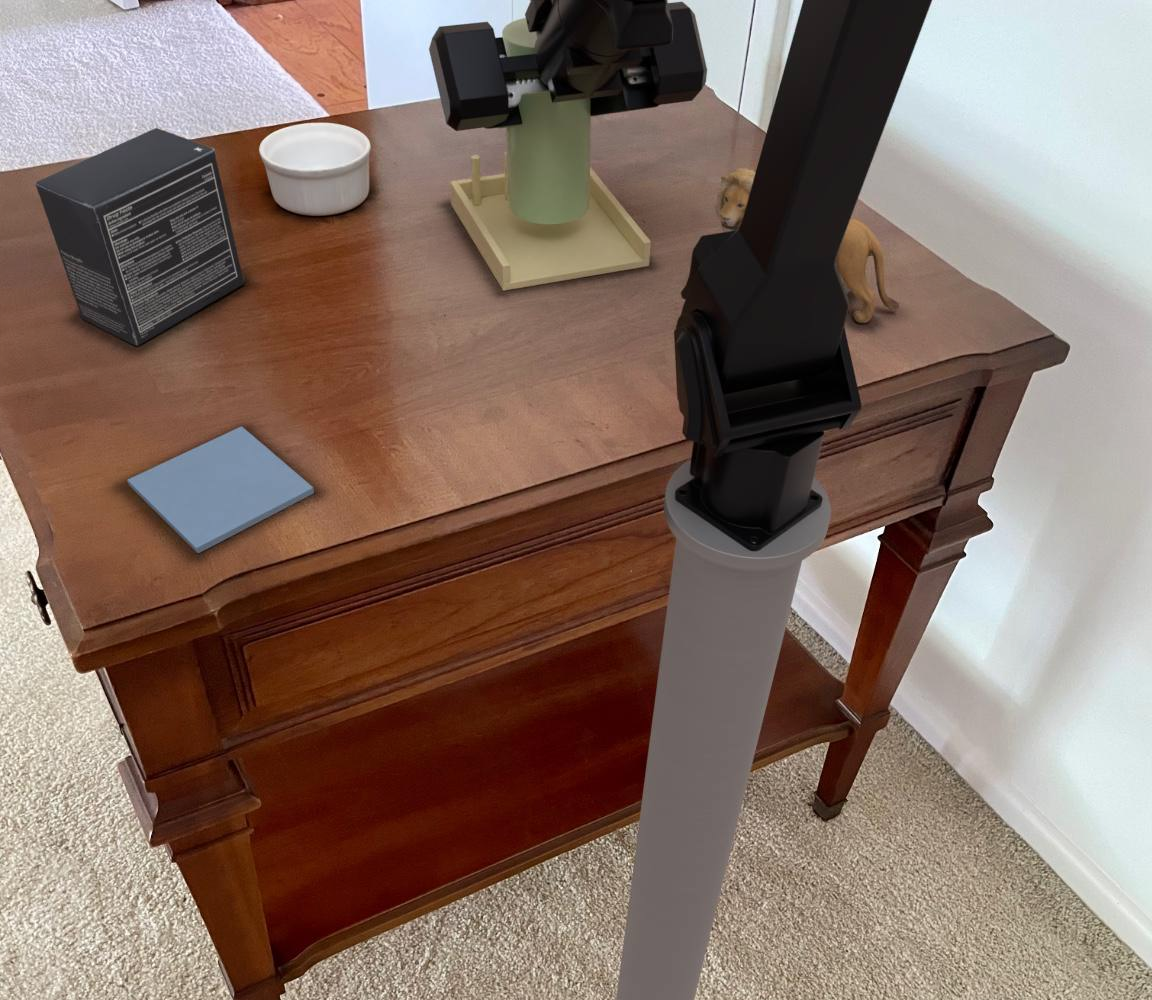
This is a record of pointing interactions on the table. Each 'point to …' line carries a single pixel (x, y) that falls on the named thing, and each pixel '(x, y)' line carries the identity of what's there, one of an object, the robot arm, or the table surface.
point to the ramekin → (317, 167)
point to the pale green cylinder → (546, 149)
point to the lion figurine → (850, 254)
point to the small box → (143, 233)
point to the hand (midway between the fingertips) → (542, 115)
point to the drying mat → (220, 488)
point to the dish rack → (546, 234)
